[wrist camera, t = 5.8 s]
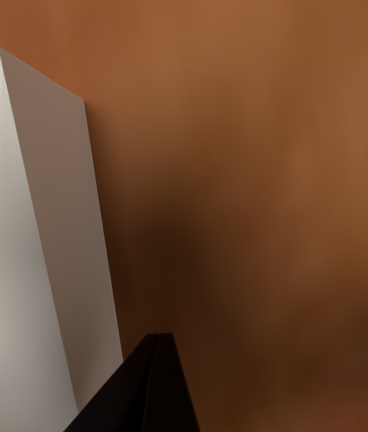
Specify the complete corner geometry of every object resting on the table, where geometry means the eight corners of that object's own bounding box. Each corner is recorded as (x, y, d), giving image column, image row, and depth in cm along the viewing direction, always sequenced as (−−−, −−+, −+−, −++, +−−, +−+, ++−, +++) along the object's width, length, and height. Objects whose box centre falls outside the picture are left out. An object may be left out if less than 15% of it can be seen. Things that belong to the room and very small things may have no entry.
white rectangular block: (89, 104, 7) (-3, 45, 4) (129, 383, 10) (96, 496, 6) (-72, 117, 8) (-288, 74, 4) (7, 384, 10) (-87, 493, 7)
